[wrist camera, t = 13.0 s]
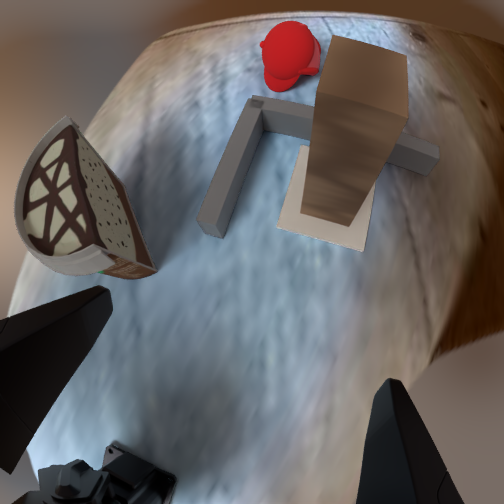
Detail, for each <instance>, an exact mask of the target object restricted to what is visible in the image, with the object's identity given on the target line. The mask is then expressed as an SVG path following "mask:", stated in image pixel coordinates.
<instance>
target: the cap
mask: <svg viewBox="0 0 504 504" xmlns="http://www.w3.org/2000/svg"><path fill="white" fill-rule="evenodd" d="M260 47H261V48H262V60H263V63H264V66H265V68H264V79H265V82H266V84H267V86H268V87H269V88H270V89H271V90H272V91H275V92H283V91H285V90H287V89H289V88H290V87H292V86H293V85H294V84H295V83H296V81H297V80H298V78H299V76H300V75H311V76H314V75H316V74H317V73H318V72H319V66H320V54H321V48H320V44H319V42H318V41H317V39H316V38H315V37H314V36H313V35H312V33H311V31H310V30H309V29H308V26H307V25H305V24H302V23H300V22H297V21H285V22H282V23H280V24H278V25H276V26H275V27H274V28H273V29H272V30H271V31H270V32H269V33H268V35H267V36H266V38H265V40H264V41H262V42H260Z"/></svg>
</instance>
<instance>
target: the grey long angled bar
mask: <svg viewBox="0 0 504 504" xmlns="http://www.w3.org/2000/svg"><path fill="white" fill-rule="evenodd" d="M313 115H314V107H313V106H308V105H304V104H299V103H294V102H289V101H284V100H279V99H273V98H267V97H261V96H255V95H253V96H252V98H251V99H249V98H248V100H247V102H246V104H245V106H244V109H243V111H242V113H241V115H240V117H239V119H238V122H237V124H236V126H235V128H234V130H233V133H232V135H231V137H230V139H229V142H228V144H227V146H226V149H225V151H224V153H223V155H222V158H221V160H220V162H219V165H218V167H217V169H216V172H215V174H214V177H213V179H212V181H211V184H210V186H209V189H208V191H207V194H206V196H205V198H204V201H203V203H202V206H201V208H200V211H199V213H198V216H197V219H196V221H197V222H198V224H199V225H200V227H201V228H202V230H203V231H204V233H205V234H207V235H211V236H214V237H218V238H222V239H223V237H224V235H225V232H226V229H227V226H228V223H229V221H230V218H231V215H232V212H233V210H234V207H235V204H236V201H237V199H238V196H239V193H240V191H241V188H242V185H243V183H244V180H245V177H246V175H247V172H248V169H249V167H250V164H251V161H252V159H253V156H254V153H255V151H256V148H257V146H258V143H259V140H260V138H261V135H262V133H263V130H265V131H270V132H275V133H280V134H284V135H289V136H293V137H298V138H302V139H306V140H310V139H311V131H312V123H313ZM308 154H309V146H305V145H301V147H300V150H299V153H298V157H297V160H296V163H295V167H294V170H293V173H292V177H291V180H290V183H289V187H288V190H287V193H286V197H285V200H284V203H283V206H282V210H281V213H280V216H279V219H278V223H277V226H276V228H278V229H282V230H286V231H289V232H293V233H297V234H300V235H304V236H307V237H311V238H315V239H318V240H322V241H325V242H329V243H332V244H336V245H339V246H343V247H346V248H350V249H353V250H356V251H360V252H363V251H364V247H365V242H366V237H367V231H368V226H369V220H370V215H371V209H372V203H373V196H374V190H375V183H376V181H375V183H374V185H373V186H372V188H371V190H370V192H369V194H368V195H367V197H366V199H365V201H364V202H363V204H362V206H361V208H360V209H359V211H358V213H357V214H356V216H355V218H354V220H353V221H352V223H351V225H350V226H349V227H347V226H343V225H340V224H337V223H333V222H330V221H326V220H323V219H319V218H316V217H312V216H308V215H305V214H301V213H300V210H301V203H302V197H303V190H304V183H305V176H306V169H307V162H308ZM439 160H440V157H439V146H437V145H435V144H432V143H430V142H427V141H425V140H422V139H419V138H417V137H414V136H411V135H408V134H406V133H403V132H401V134H400V136H399V138H398V140H397V142H396V144H395V146H394V148H393V149H392V151H391V153H390V155H389V157H388V159H387V161H386V162H387V163H390V164H393V165H396V166H399V167H402V168H405V169H408V170H411V171H413V172H416V173H419V174H422V175H424V176H427V175H428V174H429V172H430V171H431V170H432V169H433V167H434V166H435V165H436V163H437V162H438V161H439Z"/></svg>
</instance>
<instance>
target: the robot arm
mask: <svg viewBox="0 0 504 504" xmlns="http://www.w3.org/2000/svg"><path fill="white" fill-rule="evenodd" d="M112 311H113V305H112V299H111V293H110V290H109V289H108V288H105V287H103V286H100V285H98V286H95V287H92V288H89V289H86V290H83V291H80V292H77V293H75V294H72V295H69V296H66V297H63V298H60V299H58V300H55V301H52V302H49V303H46V304H43V305H41V306H38V307H35V308H32V309H30V310H27V311H24V312H21V313H18V314H16V315H13V316H10V318H9V317H7V318H5V319H2V320H0V468H2V469H3V470H4V471H6V472H7V473H9V474H11V473H12V472H13V470H14V469H15V467H16V465H17V463H18V461H19V460H20V458H21V456H22V454H23V453H24V451H25V450H26V448H27V446H28V444H29V443H30V441H31V439H32V438H33V436H34V434H35V433H36V431H37V429H38V428H39V426H40V425H41V423H42V421H43V420H44V418H45V417H46V415H47V413H48V412H49V410H50V409H51V407H52V406H53V404H54V403H55V401H56V400H57V398H58V397H59V395H60V393H61V392H62V390H63V389H64V388H65V386H66V385H67V383H68V382H69V380H70V379H71V377H72V376H73V374H74V373H75V371H76V370H77V369H78V367H79V366H80V364H81V363H82V361H83V360H84V359H85V357H86V356H87V354H88V353H89V351H90V350H91V348H92V347H93V345H94V344H95V342H96V340H97V338H98V337H99V335H100V333H101V331H102V330H103V328H104V326H105V324H106V323H107V321H108V319H109V318H110V316H111V314H112ZM111 449H112V450H113V452H112V451H111ZM38 477H39V486H40V491H29V492H27V493H25V494H24V495H23V496H21V497H20V498H18V499H17V500H16V501H14V502H13V503H12V504H169V503H170V500H171V497H172V494H173V491H174V488H175V485H176V482H177V478H176V477H175V476H174V475H173V474H171V473H168V472H166V471H164V470H161V469H159V468H157V467H155V466H154V465H153V464H151V463H148V462H146V461H144V460H142V459H140V458H138V457H136V456H134V455H132V454H130V453H129V452H125V451H123V450H121V449H119V448H117V447H116V446H114V445H109V446H107V447H106V450H105V455H104V460H103V465H102V468H101V469H99V470H98V471H97V470H93V468H92V467H90V466H89V465H88V464H87V463H86V462H85V461H84V460H79V459H76V460H74V461H72V462H70V463H68V464H66V465H51V466H50V467H47V468H43V469H39V470H38ZM168 478H171V479H172V481H170V480H169V479H168ZM356 504H464V502H463V500H462V498H461V496H460V495H459V493H458V491H457V489H456V487H455V485H454V483H453V481H452V479H451V476H450V474H449V472H448V471H447V468H446V466H445V464H444V462H443V460H442V458H441V456H440V454H439V452H438V450H437V448H436V446H435V444H434V442H433V440H432V438H431V436H430V434H429V432H428V430H427V428H426V426H425V424H424V422H423V421H422V419H421V417H420V415H419V413H418V411H417V409H416V407H415V405H414V404H413V402H412V400H411V399H410V396H409V395H408V393H407V391H406V389H405V387H404V385H403V384H402V382H401V381H400V380H397V379H392V378H388V379H387V380H386V381H385V382H384V383H383V385H382V386H381V387H380V388H379V390H378V391H377V392H376V394H375V396H374V399H373V404H372V410H371V415H370V420H369V425H368V430H367V434H366V439H365V445H364V452H363V461H362V468H361V475H360V482H359V488H358V494H357V500H356Z"/></svg>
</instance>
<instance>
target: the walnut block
mask: <svg viewBox="0 0 504 504" xmlns="http://www.w3.org/2000/svg"><path fill="white" fill-rule="evenodd" d="M407 120H408V73H407V56H406V55H403V54H400V53H397V52H394V51H391V50H388V49H385V48H382V47H378V46H375V45H371V44H368V43H364V42H361V41H357V40H353V39H349V38H345V37H340V36H336V35H332V39H331V42H330V46H329V49H328V53H327V56H326V60H325V63H324V67H323V70H322V73H321V77H320V80H319V84H318V87H317V91H316V98H315V107H314V115H313V123H312V131H311V139H310V147H309V154H308V162H307V169H306V176H305V183H304V190H303V197H302V203H301V210H300V213H301V214H305V215H308V216H312V217H316V218H319V219H323V220H326V221H330V222H333V223H337V224H340V225H343V226H347V227H349V226H350V225H351V223H352V221H353V220H354V218H355V216H356V214H357V213H358V211H359V209H360V208H361V206H362V204H363V202H364V201H365V199H366V197H367V195H368V194H369V192H370V190H371V188H372V186H373V185H374V183H375V181H376V179H377V177H378V176H379V174H380V172H381V170H382V168H383V166H384V165H385V163H386V161H387V159H388V157H389V155H390V153H391V151H392V149H393V148H394V146H395V144H396V142H397V140H398V138H399V136H400V134H401V132H402V130H403V128H404V126H405V124H406V122H407Z"/></svg>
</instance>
